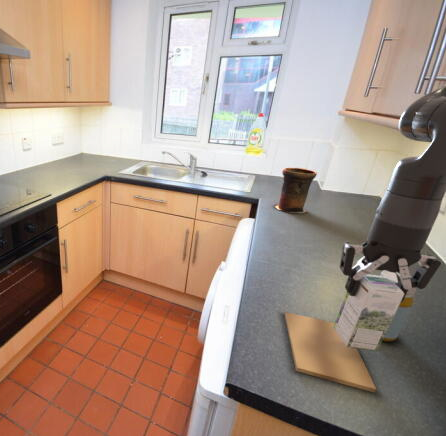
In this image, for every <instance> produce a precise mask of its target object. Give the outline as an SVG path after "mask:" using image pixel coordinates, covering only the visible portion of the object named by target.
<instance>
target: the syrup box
mask: <svg viewBox="0 0 446 436" xmlns="http://www.w3.org/2000/svg"><path fill="white" fill-rule="evenodd" d="M360 281H361V282H360V284H359V287H358V290H357V292H356V295H355V296H350V295H349V293H348V292H347V291H346V293H345V296H344V298H343V301H342V304H341V306H340V309H339V312H338V314H337V316H336V319H335V322H334V323H335V324H334V327H333V328H334V330H335V331H336V333H337V334H338V335H339V337H340V338H341V340H342V341H343V342H344V344H345V345H346V347H350V348H357V350H366V351H373V352H377V351H379V348H380V346H381V344H382V342H383V341H382V340H383V338H384V336H385V334H386V332H387V330H388V327H389V325H390V323H391V321H392V319H393V317H394V315H395V313H396V311H397V308H398V306H399V304H400V302H401V300H402V298H403V296H404V293H403V291H402V290H401V289H400V288H399V287H398V286H397V285H396V284H395V283H394V282H392V281H391V280H390V279H388V278H387V277H385V276H380V275H375V274H366V275H365V276H364V277H362V278H361V279H360Z"/></svg>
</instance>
